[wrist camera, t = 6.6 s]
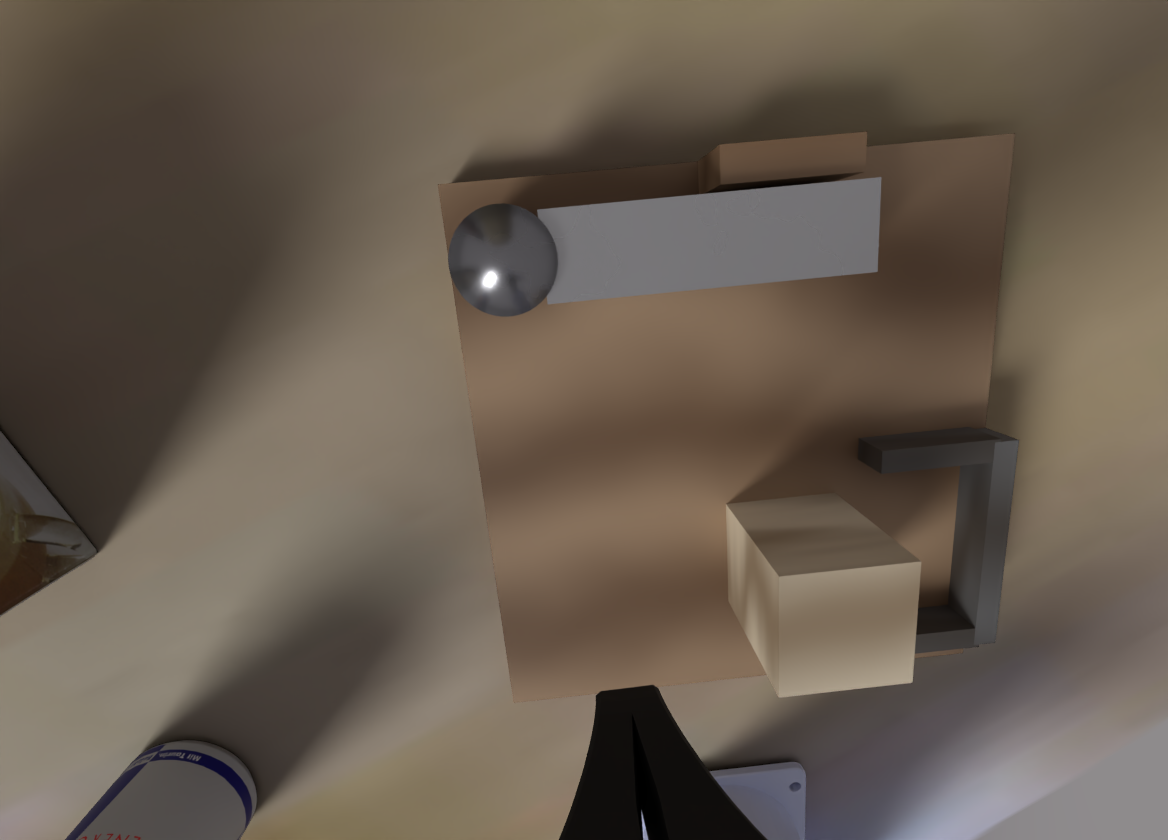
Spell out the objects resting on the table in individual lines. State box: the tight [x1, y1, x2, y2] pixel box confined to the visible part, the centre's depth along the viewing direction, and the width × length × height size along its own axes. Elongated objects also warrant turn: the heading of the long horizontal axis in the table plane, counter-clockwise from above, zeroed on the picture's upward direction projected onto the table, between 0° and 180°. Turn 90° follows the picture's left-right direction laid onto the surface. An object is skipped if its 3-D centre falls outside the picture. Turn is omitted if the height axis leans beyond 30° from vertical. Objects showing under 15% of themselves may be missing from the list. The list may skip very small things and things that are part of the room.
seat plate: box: [438, 132, 1019, 703], centre depth 19 cm, size 19×18×4 cm
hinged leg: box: [448, 177, 881, 317], centre depth 16 cm, size 11×3×3 cm, turn 95°
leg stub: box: [726, 493, 921, 698], centre depth 18 cm, size 4×4×5 cm
